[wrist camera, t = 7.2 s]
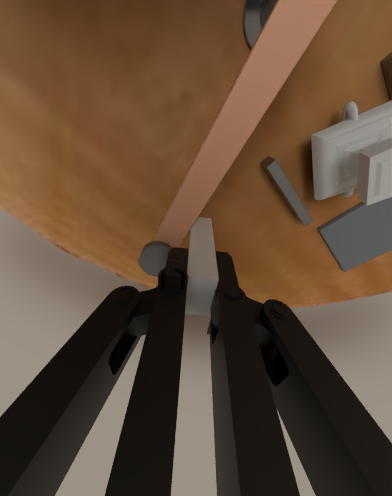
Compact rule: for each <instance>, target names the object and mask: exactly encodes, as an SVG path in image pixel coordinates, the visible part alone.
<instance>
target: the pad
mask: <svg viewBox="0 0 392 496" xmlns="http://www.w3.org/2000/svg"><path fill="white" fill-rule="evenodd" d="M317 229H318V231H319V232H320V234H321V235H322V237H323V239H324V240H325V242H326V244H327V245H328V247H329V249H330V250H331V252H332V253H333V255H334V257H335V258H336V260H337V262H338V263H339V265H340V267H341V268H342V270H343V271H344V272H345V271H347V270H350V269H352V268H354V267H356V266H358V265H360V264H362V263H365V262H367V261H369V260H371V259H373V258H375V257H377V256H379V255H382V254H384V253H386V252H388V251H390V250H392V197H390V198H387V199H384V200H381V201H379V202H376V203H373V204H370V205H368V206H366V205H365V204H364V203H363V202H361V203H360V204H358V205H356V206H355V207H353V208H351V209H349V210H348V211H346V212H344V213H343V214H341V215H339V216H338V217H336V218H334V219H333V220H331V221H329V222H327V223H326V224H324V225H322V226H321V227H319V228H317Z"/></svg>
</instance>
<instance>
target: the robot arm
mask: <svg viewBox="0 0 392 496" xmlns="http://www.w3.org/2000/svg"><path fill="white" fill-rule="evenodd" d="M210 311H211V320H210V324H209V327H208V331H207V334H209V333H210V350H211V373H212V394H213V416H214V437H215V458H216V481H217V496H300V494H299V490H298V487H297V483H296V479H295V476H294V472H293V469H292V465H291V461H290V457H289V453H288V450H287V447H286V442H285V439H284V435H283V431H282V427H281V424H280V420H279V416H278V413H277V410H278V412H279V414H280V417H281V419H282V421H283V423H284V426H285V428H286V430H287V432H288V434H289V437H290V439H291V441H292V443H293V446H294V448H295V450H296V452H297V455H298V457H299V459H300V461H301V463H302V466H303V468H304V470H305V472H306V475H307V477H308V479H309V481H310V484H311V486H312V488H313V490H314V493H315V495H316V496H392V443H391V442H390V441H389V439H388V438H387V437H386V435H385V434H384V433H383V431H382V430H381V429H380V427H379V426H378V425H377V423H376V422H375V421H374V419H373V418H372V417H371V415H370V414H369V413H368V411H367V410H366V409H365V407H364V406H363V405H362V403H361V402H360V401H359V399H358V398H357V397H356V395H355V394H354V393H353V391H352V390H351V389H350V387H349V386H348V385H347V383H346V382H345V381H344V379H343V378H342V377H341V376H340V374H339V373H338V371H337V370H336V369H335V367H334V366H333V365H332V363H331V362H330V361H329V359H328V358H327V357H326V355H325V354H324V353H323V352H322V350H321V349H320V348H319V346H318V345H317V344H316V342H315V341H314V340H313V338H312V337H311V336H310V334H309V333H308V332H307V330H306V329H305V328H304V326H303V325H302V324H301V322H300V321H299V320H298V318H297V317H296V316H295V315H294V313H293V312H292V310H291V309H290V308H289V307H288V306H287V305H286V304H284V303H283V302H281V301H278V300H273V299H270V300H267V301H266V302H265V303H264V304H262V303H259V302H257V301H254V300H252V299H249V298H248V297H246V295H245V293H244V291H243V290H242V289H241V288H239V285H238V281H237V276H236V272H235V268H234V265H233V260H232V257H231V256H230V255H229V254H228V253H226V252H217V251H215V245H214V237H213V228H212V220H211V218H205V217H198V218H197V219H196V221H195V222H194V224H193V225H192V227H191V230H190V239H189V248H188V249H185V248H176V247H173V248H172V249H171V250H170V251H169V254H168V258H167V262H166V266H165V268H163V269H162V270H161V271H160V272H159V274H158V286H157V287H156V288H154V289H152V290H148V291H142V292H139V291H138V290H137V289H136V288H134V287H132V286H122V287H119V288H116V289H114V290H113V291H112V292H111V293H110V294H109V295H108V296H107V297H106V298H105V299H104V301H103V302H102V303H101V304H100V305H99V306H98V307H97V308H96V310H95V311H94V312H93V313H92V314H91V315H90V316H89V317H88V319H87V320H86V321H85V322H84V323H83V324H82V325H81V326H80V328H79V329H78V330H77V331H76V332H75V333H74V334H73V336H72V337H71V338H70V339H69V340H68V341H67V342H66V344H65V345H64V346H63V347H62V348H61V349H60V350H59V351H58V353H57V354H56V355H55V356H54V357H53V358H52V359H51V360H50V362H49V363H48V364H47V365H46V366H45V367H44V368H43V369H42V371H41V372H40V373H39V374H38V375H37V376H36V377H35V379H34V380H33V381H32V382H31V383H30V384H29V385H28V386H27V387H26V389H25V390H24V391H23V392H22V393H21V394H20V395H19V397H18V398H17V399H16V400H15V401H14V402H13V403H12V405H11V406H10V407H9V408H8V409H7V410H6V411H5V412H4V413H3V415H2V416H1V417H0V496H55V494H56V492H57V490H58V488H59V487H60V485H61V483H62V481H63V479H64V477H65V475H66V474H67V472H68V470H69V468H70V466H71V465H72V463H73V461H74V459H75V457H76V455H77V454H78V452H79V450H80V448H81V446H82V444H83V442H84V441H85V439H86V437H87V435H88V433H89V431H90V430H91V428H92V426H93V424H94V422H95V420H96V419H97V417H98V415H99V413H100V411H101V409H102V408H103V405H104V404H105V402H106V399H107V398H108V396H109V395H110V393H111V391H112V389H113V387H114V385H115V384H116V382H117V380H118V378H119V376H120V374H121V372H122V371H123V369H124V367H125V365H126V363H127V361H128V360H129V358H130V356H131V354H132V352H133V350H134V348H135V347H136V345H137V343H138V341H139V339H140V338H141V336H142V335H146V337H145V341H144V345H143V349H142V353H141V357H140V360H139V364H138V368H137V372H136V376H135V380H134V384H133V388H132V392H131V396H130V399H129V404H128V407H127V411H126V415H125V419H124V423H123V427H122V430H121V434H120V438H119V442H118V446H117V450H116V454H115V458H114V462H113V466H112V470H111V473H110V477H109V481H108V485H107V489H106V493H105V496H171V483H172V470H173V457H174V445H175V432H176V419H177V407H178V394H179V382H180V368H181V356H182V344H183V331H184V318H185V314H195V315H205V316H209V314H210ZM276 408H277V409H276Z"/></svg>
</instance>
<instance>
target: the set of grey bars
mask: <svg viewBox="0 0 392 496" xmlns="http://www.w3.org/2000/svg"><path fill="white" fill-rule="evenodd" d="M276 1H277V0H247V1H246V5H245V10H244V18H243V27H244V34H245V39H246V42H247V44H248V46H249V48H250V49H252V47H253V45H254V43H255V41H256V40H257V38H258V36H259V34H260V32H261V30H262V28H263V26H264V24H265V22H266V20H267V19H268V17H269V15H270V13H271V11H272V9H273V7H274V5H275V3H276ZM381 65H382V69H383V74H384V78H385V82H386V86H387V90H388V94H389V98H390V101H391V100H392V52H391V53H390V54H389V55H388V56H387V57H385V58H384V59H383V60H382V61H381ZM261 165H262V166H263V168H264V169H265V171H266V172H267V174H268V175H269V177H270V179H271V180H272V182H273V183H274V185H275V186H276V188H277V189H278V191H279V192H280V194H281V195H282V197H283V198H284V200H285V201H286V203H287V204H288V206H289V207H290V209H291V210H292V212H293V213H294V215H295V216H296V218H297V219H298V220H299V221H300V222H301V223H302V224H303V225H304V226H306V225H307V224H309V223H311V222H312V221H313V220H312V218H311V217H310V215H309V213H308V212H307V210H306V208H305V207H304V205H303V204H302V202H301V200H300V199H299V197H298V195H297V194H296V192H295V190H294V189H293V187H292V185H291V184H290V182H289V181H288V179H287V177H286V176H285V174H284V172H283V171H282V169H281V167H280V166H279V164H278V162H277V161H276V160H275V159H273V158H271V157H269V156H268V157H267V158H266V159H264V160H263V161H262V162H261Z"/></svg>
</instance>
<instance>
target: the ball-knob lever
mask: <svg viewBox="0 0 392 496" xmlns="http://www.w3.org/2000/svg"><path fill="white" fill-rule="evenodd" d="M336 1H337V0H277V1H276V3H275V5H274V7H273V9H272V11H271V13H270V15H269V17H268V19H267V20H266V22H265V24H264V26H263V28H262V30H261V32H260V34H259V36H258V38H257V40H256V41H255V43H254V45H253V47H252V49H251V51H250V53H249V55H248V57H247V59H246V61H245V63H244V64H243V66H242V68H241V70H240V72H239V74H238V76H237V78H236V80H235V82H234V84H233V85H232V87H231V89H230V91H229V93H228V95H227V97H226V99H225V101H224V103H223V105H222V106H221V108H220V110H219V112H218V114H217V116H216V118H215V120H214V122H213V124H212V126H211V128H210V129H209V131H208V133H207V135H206V137H205V139H204V141H203V143H202V145H201V147H200V149H199V150H198V152H197V154H196V156H195V158H194V160H193V162H192V164H191V166H190V168H189V170H188V172H187V173H186V175H185V177H184V179H183V181H182V183H181V185H180V187H179V189H178V191H177V193H176V194H175V196H174V198H173V200H172V202H171V204H170V206H169V208H168V210H167V212H166V214H165V215H164V217H163V219H162V221H161V223H160V225H159V227H158V229H157V231H156V233H155V235H154V237H153V238H152V241H151V242H150V243H148V244H147V245H145V247H144V248H143V251H142V253H141V255H140V257H139V265H140V267H141V269H142V270H143V271H144V272H146V273H147V274H149V275H152V276H158V274H159V272H160V271H161V270H162V269H163V268H165V266H166V262H167V258H168V254H169V251H170V250H171V249H172V248H173V247H176V248H178V247H179V246H180V244H181V242H182V241H183V239H184V238H185V236H186V235H187V233H188V232H189V230H190V228H191V227H192V225H193V224H194V222H195V221H196V219H197V218H198V216H199V214H200V213H201V211H202V210H203V208H204V207H205V205H206V204H207V202H208V200H209V199H210V197H211V196H212V194H213V193H214V191H215V190H216V188H217V186H218V185H219V183H220V182H221V180H222V179H223V177H224V176H225V174H226V172H227V171H228V169H229V168H230V166H231V165H232V163H233V162H234V160H235V158H236V157H237V155H238V154H239V152H240V151H241V149H242V148H243V146H244V144H245V143H246V141H247V140H248V138H249V137H250V135H251V134H252V132H253V130H254V129H255V127H256V126H257V124H258V123H259V121H260V120H261V118H262V116H263V115H264V113H265V112H266V110H267V109H268V107H269V106H270V104H271V102H272V101H273V99H274V98H275V96H276V95H277V93H278V92H279V90H280V88H281V87H282V85H283V84H284V82H285V81H286V79H287V78H288V76H289V74H290V73H291V71H292V70H293V68H294V67H295V65H296V64H297V62H298V61H299V59H300V57H301V56H302V54H303V53H304V51H305V50H306V48H307V47H308V45H309V43H310V42H311V40H312V39H313V37H314V36H315V34H316V33H317V31H318V29H319V28H320V26H321V25H322V23H323V22H324V20H325V19H326V17H327V15H328V14H329V12H330V11H331V9H332V8H333V6H334V5H335V3H336Z"/></svg>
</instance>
